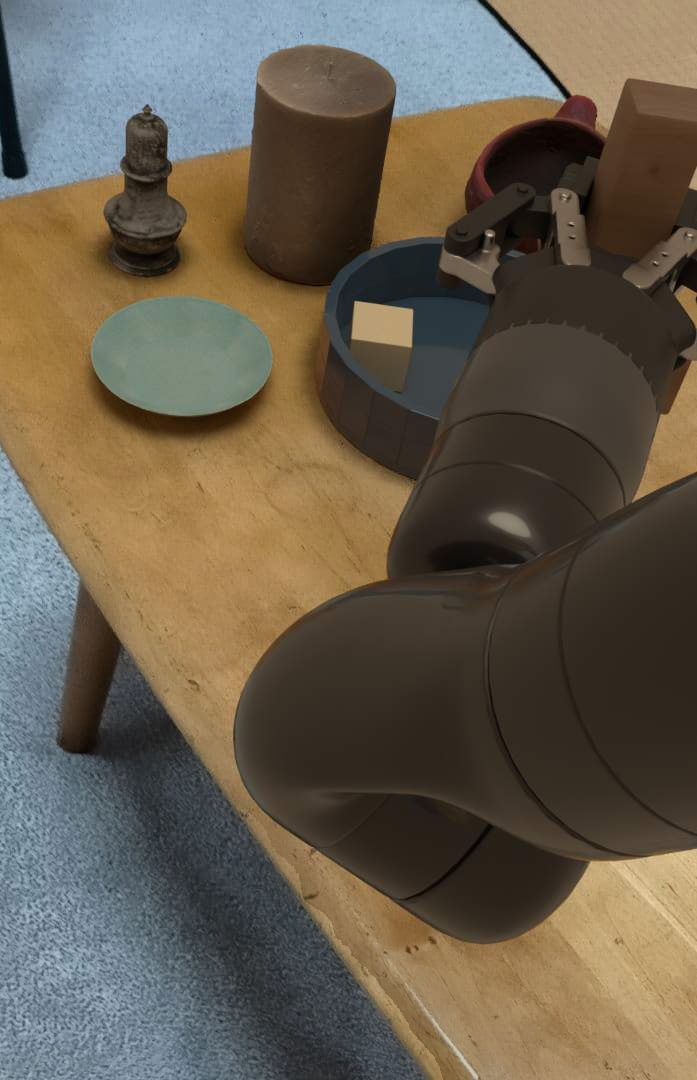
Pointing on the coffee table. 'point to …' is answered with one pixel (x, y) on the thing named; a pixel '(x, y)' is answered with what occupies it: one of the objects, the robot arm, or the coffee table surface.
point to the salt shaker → (145, 203)
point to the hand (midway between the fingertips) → (636, 191)
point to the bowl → (536, 155)
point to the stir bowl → (435, 361)
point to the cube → (382, 341)
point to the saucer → (181, 356)
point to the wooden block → (644, 176)
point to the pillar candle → (316, 160)
